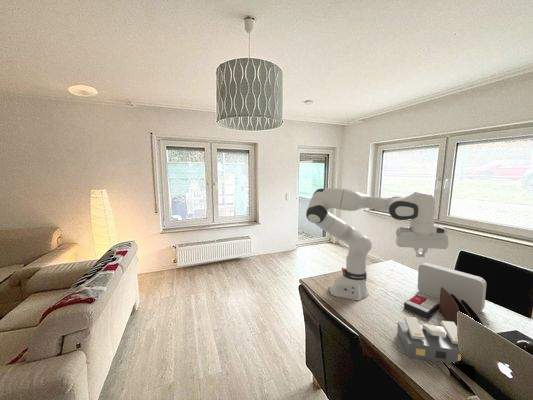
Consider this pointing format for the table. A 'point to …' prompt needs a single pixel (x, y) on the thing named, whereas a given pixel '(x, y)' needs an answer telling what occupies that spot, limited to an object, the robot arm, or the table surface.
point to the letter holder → (454, 307)
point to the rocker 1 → (414, 328)
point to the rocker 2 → (433, 330)
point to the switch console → (429, 345)
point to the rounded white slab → (452, 285)
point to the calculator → (421, 306)
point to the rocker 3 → (450, 330)
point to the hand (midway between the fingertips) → (420, 256)
